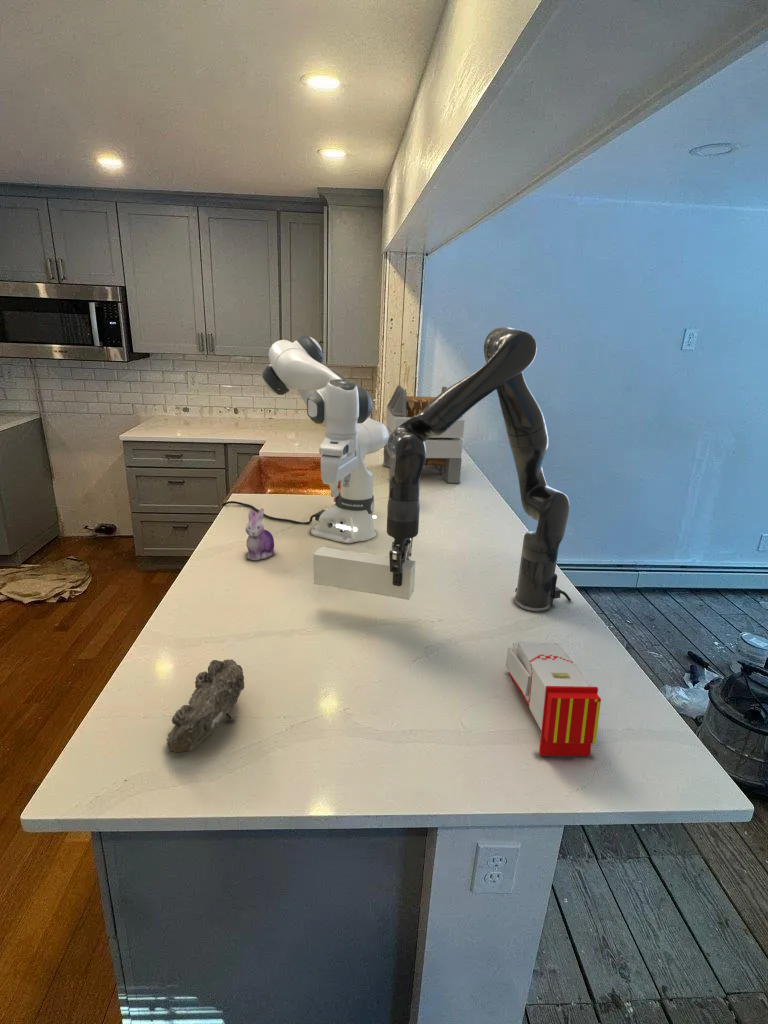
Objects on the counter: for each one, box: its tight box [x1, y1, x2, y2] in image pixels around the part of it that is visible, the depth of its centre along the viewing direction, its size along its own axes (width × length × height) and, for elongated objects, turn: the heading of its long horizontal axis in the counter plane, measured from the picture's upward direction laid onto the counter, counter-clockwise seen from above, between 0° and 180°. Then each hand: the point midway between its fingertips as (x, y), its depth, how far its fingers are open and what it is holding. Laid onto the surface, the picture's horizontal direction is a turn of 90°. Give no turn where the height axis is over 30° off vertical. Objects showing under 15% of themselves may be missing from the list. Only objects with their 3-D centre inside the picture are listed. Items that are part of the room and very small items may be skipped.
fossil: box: [166, 658, 245, 754], centre depth 106 cm, size 22×10×15 cm
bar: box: [313, 546, 417, 600], centre depth 140 cm, size 25×5×8 cm, turn 74°
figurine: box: [245, 508, 275, 561], centre depth 176 cm, size 9×10×15 cm
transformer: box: [383, 384, 465, 484], centre depth 268 cm, size 34×33×41 cm
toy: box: [505, 641, 602, 757], centre depth 113 cm, size 12×13×30 cm
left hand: (340, 491), depth 156 cm, fingers open, 8 cm apart
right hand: (400, 580), depth 138 cm, fingers closed on bar, 5 cm apart
